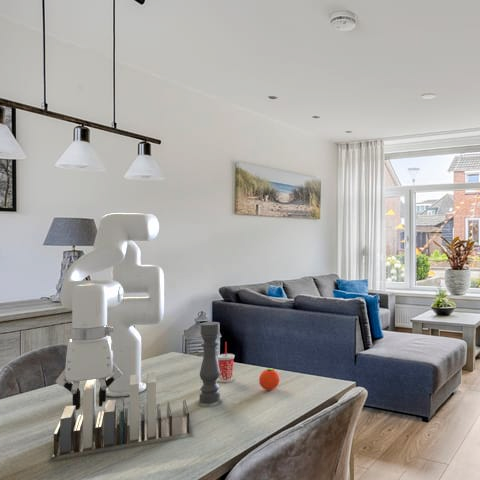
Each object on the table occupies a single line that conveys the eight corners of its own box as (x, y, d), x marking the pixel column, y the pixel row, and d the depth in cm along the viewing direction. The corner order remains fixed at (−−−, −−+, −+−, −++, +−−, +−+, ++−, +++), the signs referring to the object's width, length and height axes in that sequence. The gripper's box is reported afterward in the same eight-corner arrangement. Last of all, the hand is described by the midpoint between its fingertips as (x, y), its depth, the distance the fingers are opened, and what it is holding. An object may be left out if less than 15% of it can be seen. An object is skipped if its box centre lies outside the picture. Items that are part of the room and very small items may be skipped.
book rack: (52, 461, 104) (52, 422, 104) (60, 440, 115) (60, 405, 115) (190, 436, 117) (190, 402, 117) (185, 419, 128) (185, 388, 128)
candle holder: (213, 407, 138) (213, 325, 138) (195, 405, 139) (195, 324, 139) (223, 400, 144) (224, 322, 144) (206, 398, 145) (206, 321, 145)
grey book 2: (103, 445, 110) (103, 412, 110) (106, 431, 118) (106, 400, 118) (114, 443, 111) (114, 411, 111) (115, 429, 119) (115, 399, 119)
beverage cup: (219, 384, 160) (219, 344, 160) (214, 379, 165) (215, 341, 165) (236, 381, 163) (236, 342, 163) (231, 376, 168) (231, 339, 168)
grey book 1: (59, 452, 106) (60, 418, 106) (65, 437, 114) (65, 406, 114) (70, 451, 107) (71, 417, 107) (75, 436, 115) (75, 404, 115)
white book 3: (147, 437, 114) (147, 382, 114) (146, 424, 122) (146, 373, 122) (155, 436, 115) (156, 381, 115) (154, 423, 123) (155, 372, 123)
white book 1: (82, 448, 108) (83, 390, 108) (86, 434, 116) (86, 380, 116) (92, 447, 109) (92, 389, 109) (95, 432, 117) (95, 379, 117)
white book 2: (129, 440, 112) (129, 384, 112) (130, 427, 120) (130, 375, 120) (138, 439, 113) (138, 383, 113) (138, 426, 121) (138, 374, 121)
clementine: (264, 384, 159) (264, 364, 159) (283, 385, 158) (283, 365, 158) (255, 392, 152) (255, 371, 152) (275, 393, 150) (275, 372, 150)
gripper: (128, 327, 120) (127, 396, 120) (52, 333, 112) (51, 406, 112) (127, 333, 113) (127, 406, 113) (46, 339, 105) (46, 417, 105)
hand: (89, 405), depth 112 cm, fingers open, 4 cm apart
